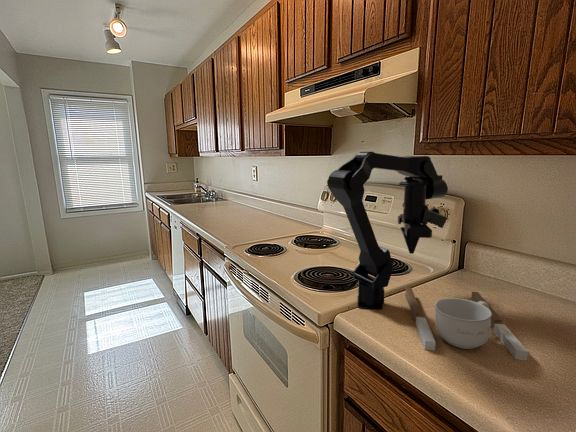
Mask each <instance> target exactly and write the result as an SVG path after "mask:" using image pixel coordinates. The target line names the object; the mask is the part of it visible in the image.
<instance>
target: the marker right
mask: <svg viewBox="0 0 576 432" xmlns="http://www.w3.org/2000/svg"><path fill="white" fill-rule="evenodd" d="M493 332H494V334H495V335H496V336H497V337H498V339H499V340H500V341H501V342H502V344H503V345H504V347H505V348H506V349H507V350H508V352H509V353H510V354H511V355H512V357H513V358H514V359H515V360H520V361H528V355H529V350H527V348H526V347H525V346H524V345H523V344H522V343H521V342H520V340H519V339H518V338H517V337H516V335H514V333H513V332H512V331H511V330H510V329H509V328H508V326H506V324H503V323H502V324H495V325H494V328H493Z"/></svg>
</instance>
